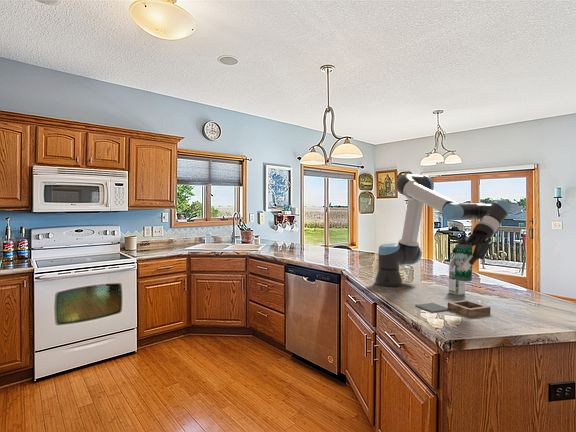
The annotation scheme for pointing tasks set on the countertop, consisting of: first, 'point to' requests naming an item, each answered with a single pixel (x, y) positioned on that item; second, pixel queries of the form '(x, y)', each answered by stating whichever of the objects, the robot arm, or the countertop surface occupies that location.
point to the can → (462, 262)
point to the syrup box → (455, 283)
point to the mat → (432, 307)
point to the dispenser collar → (469, 308)
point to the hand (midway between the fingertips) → (457, 267)
